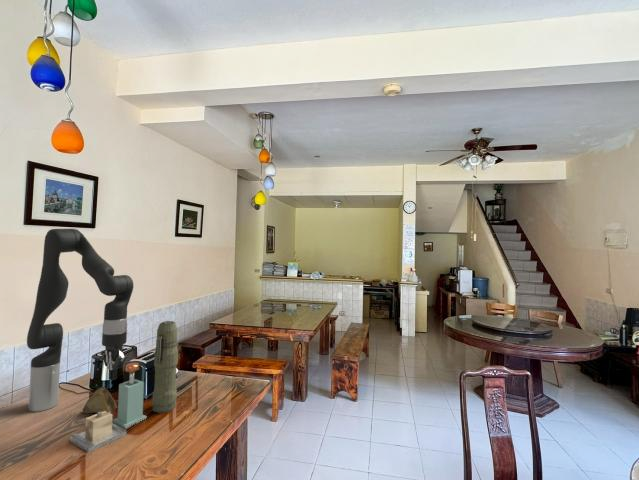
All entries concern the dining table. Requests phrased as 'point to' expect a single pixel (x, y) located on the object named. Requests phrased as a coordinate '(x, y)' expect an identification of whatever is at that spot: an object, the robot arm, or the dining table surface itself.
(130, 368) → the plunger
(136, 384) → the column
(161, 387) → the thermos
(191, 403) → the dining table surface
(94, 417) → the block
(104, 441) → the grey square tray
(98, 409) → the rock
